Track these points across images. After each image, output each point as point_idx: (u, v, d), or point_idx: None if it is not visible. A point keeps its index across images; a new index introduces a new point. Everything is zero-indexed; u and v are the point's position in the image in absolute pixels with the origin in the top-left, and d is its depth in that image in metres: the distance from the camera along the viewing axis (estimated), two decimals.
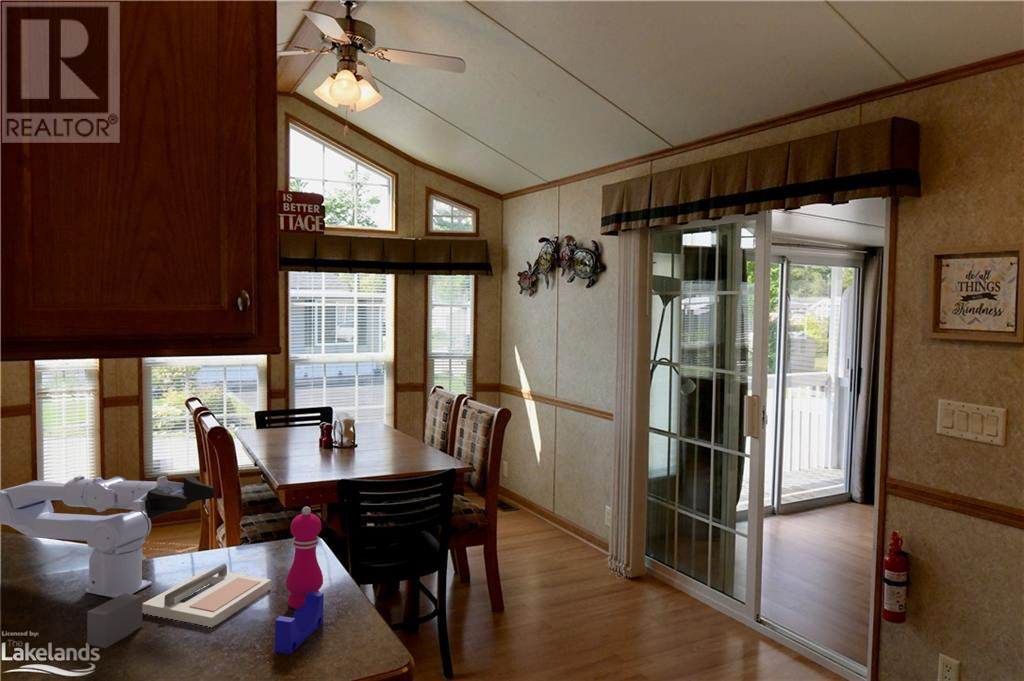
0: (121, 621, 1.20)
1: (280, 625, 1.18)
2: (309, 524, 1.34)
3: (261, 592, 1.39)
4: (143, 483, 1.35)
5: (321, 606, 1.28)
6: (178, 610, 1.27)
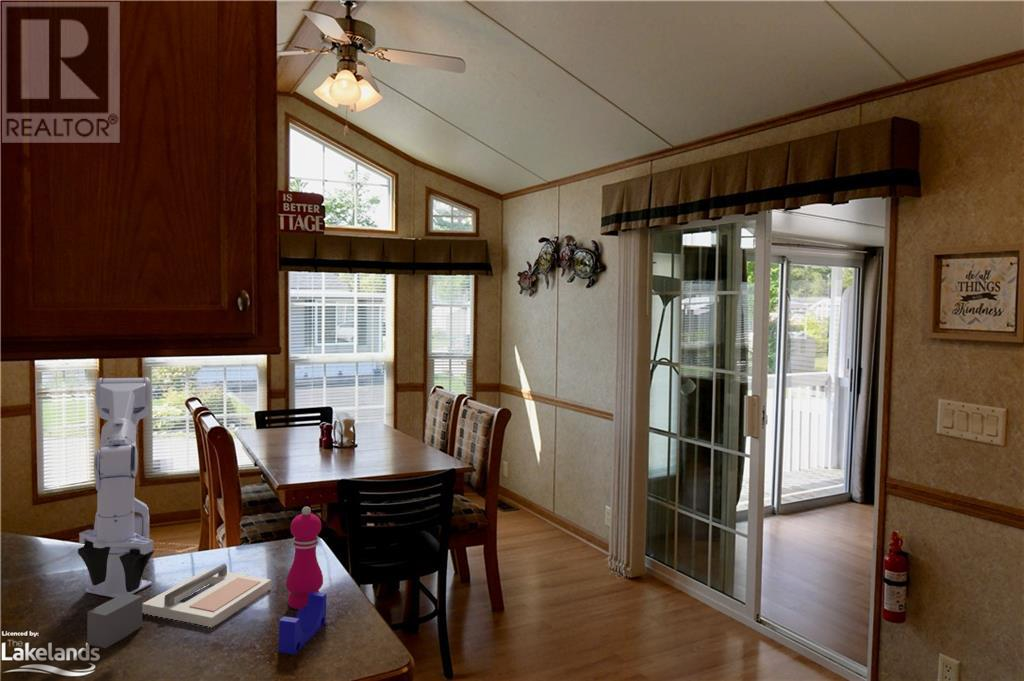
0: (121, 621, 1.20)
1: (284, 625, 1.18)
2: (309, 524, 1.34)
3: (261, 592, 1.39)
4: (99, 520, 1.17)
5: (324, 606, 1.28)
6: (178, 610, 1.27)
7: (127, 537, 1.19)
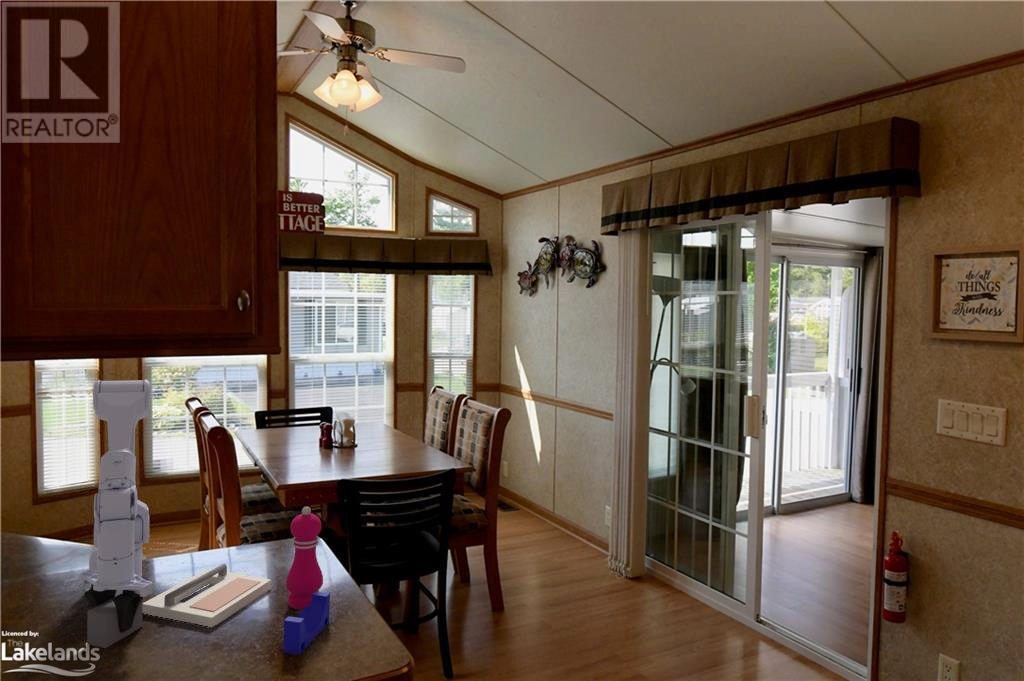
0: None
1: (289, 625, 1.18)
2: (309, 524, 1.34)
3: (261, 592, 1.39)
4: (99, 563, 1.18)
5: (327, 606, 1.28)
6: (178, 610, 1.27)
7: (127, 579, 1.20)
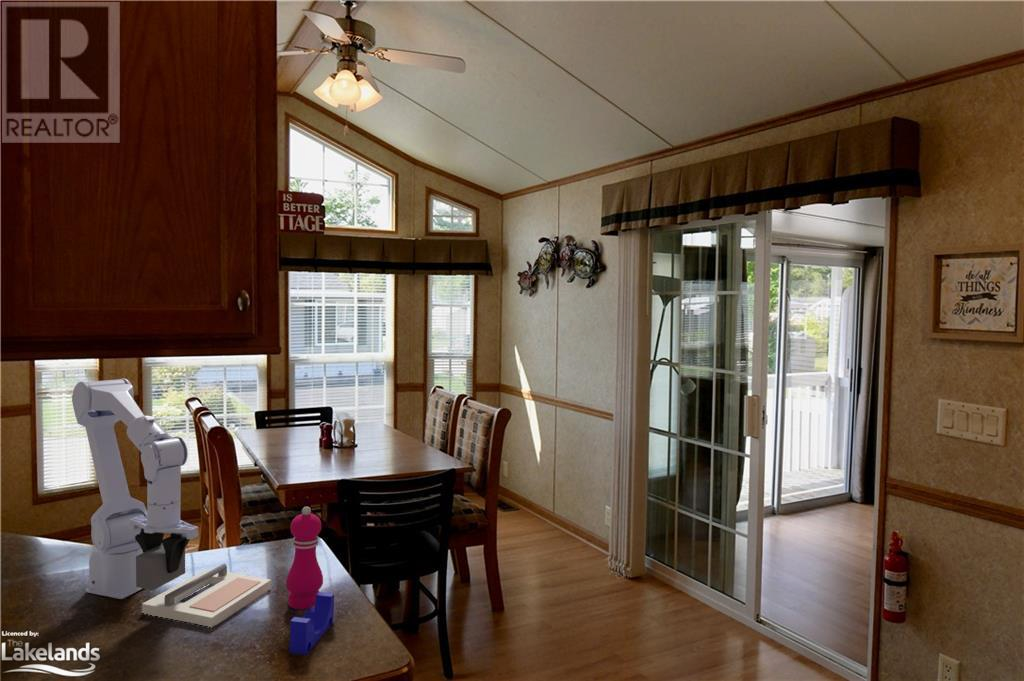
0: None
1: (295, 626, 1.17)
2: (309, 524, 1.34)
3: (261, 592, 1.39)
4: (149, 508, 1.27)
5: (332, 606, 1.28)
6: (178, 610, 1.27)
7: (174, 523, 1.29)
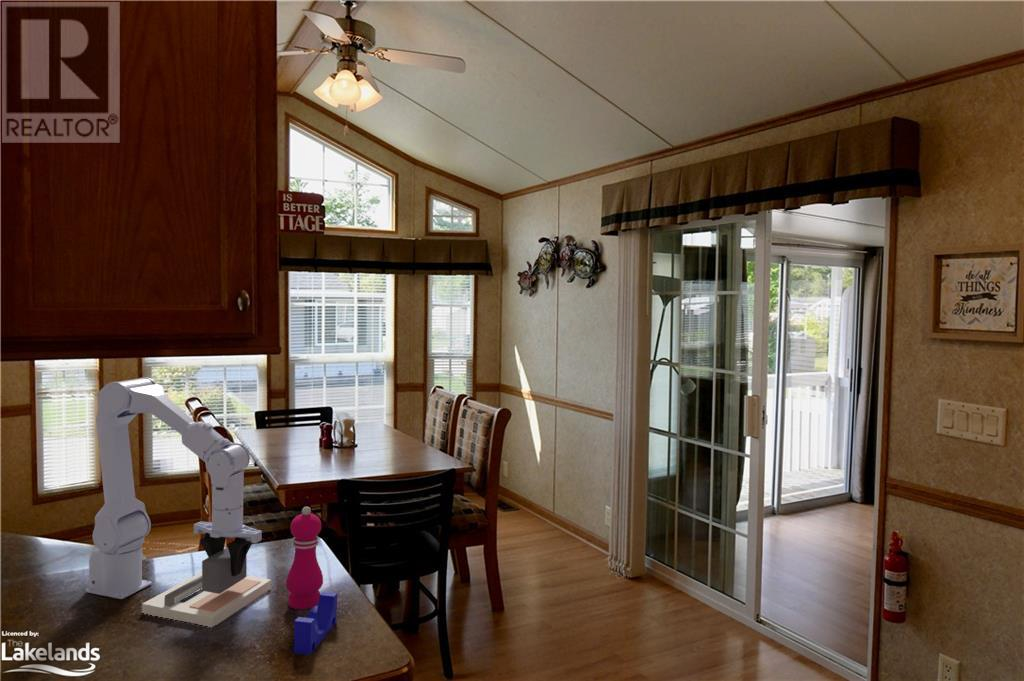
0: None
1: (300, 626, 1.18)
2: (309, 524, 1.34)
3: (261, 592, 1.39)
4: (214, 513, 1.31)
5: (335, 606, 1.28)
6: (178, 610, 1.27)
7: (238, 528, 1.33)
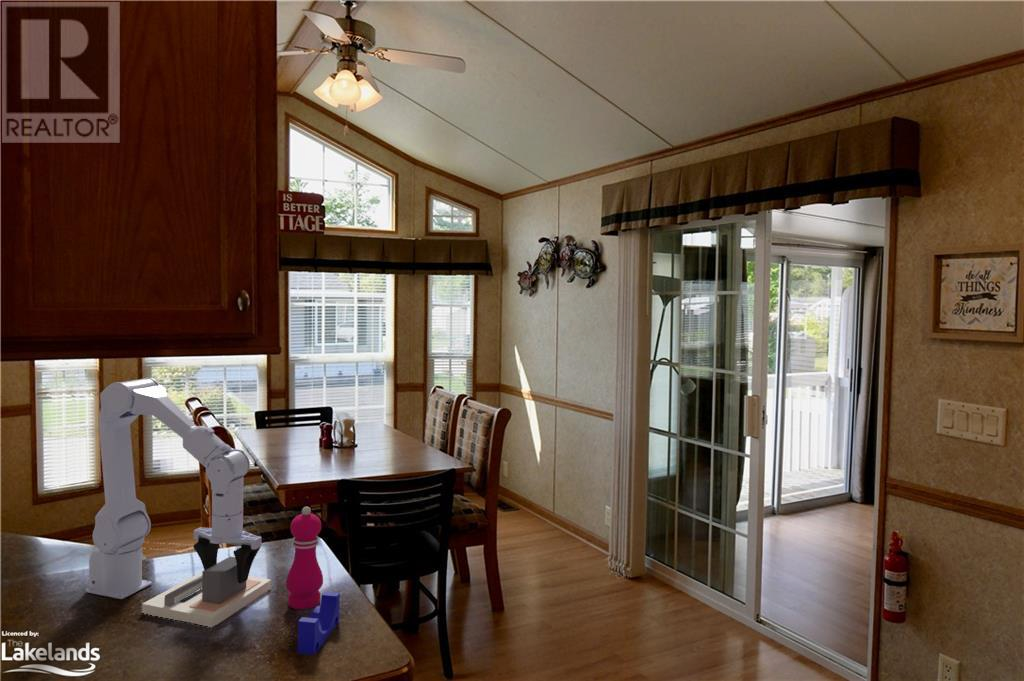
0: (231, 580, 1.33)
1: (303, 626, 1.18)
2: (309, 524, 1.34)
3: (261, 592, 1.39)
4: (214, 519, 1.31)
5: (337, 606, 1.28)
6: (178, 610, 1.27)
7: (238, 534, 1.33)
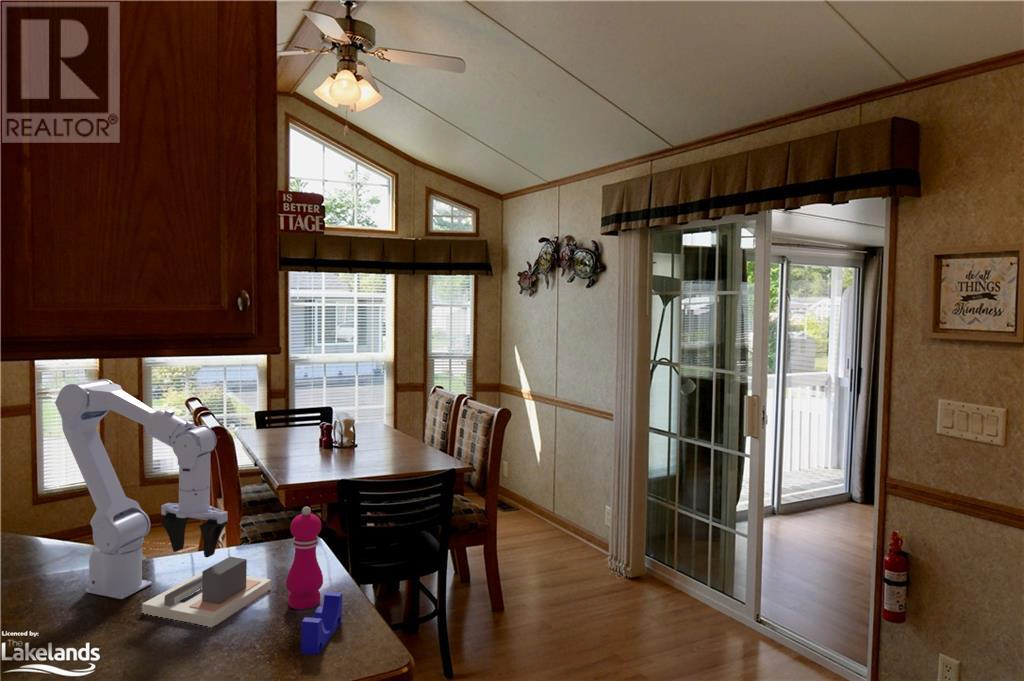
0: (231, 580, 1.33)
1: (307, 626, 1.18)
2: (309, 524, 1.34)
3: (261, 592, 1.39)
4: (181, 494, 1.33)
5: (340, 606, 1.29)
6: (178, 610, 1.27)
7: (205, 509, 1.35)
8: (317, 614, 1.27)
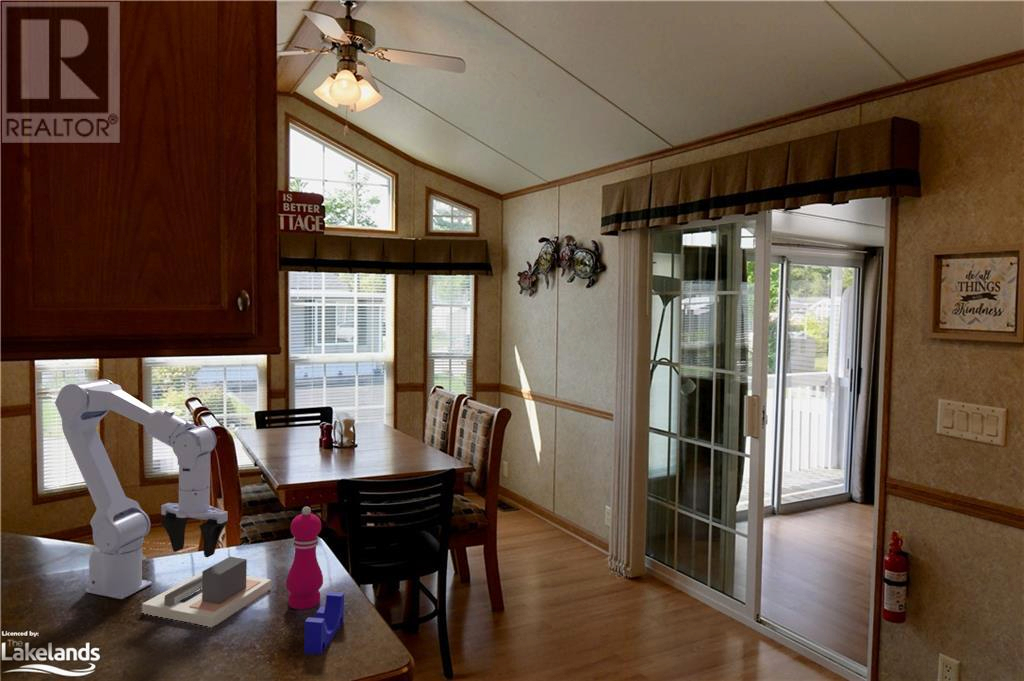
0: (231, 580, 1.33)
1: (310, 626, 1.18)
2: (309, 524, 1.34)
3: (261, 592, 1.39)
4: (181, 494, 1.33)
5: (342, 606, 1.29)
6: (178, 610, 1.27)
7: (205, 509, 1.35)
8: (319, 614, 1.27)
